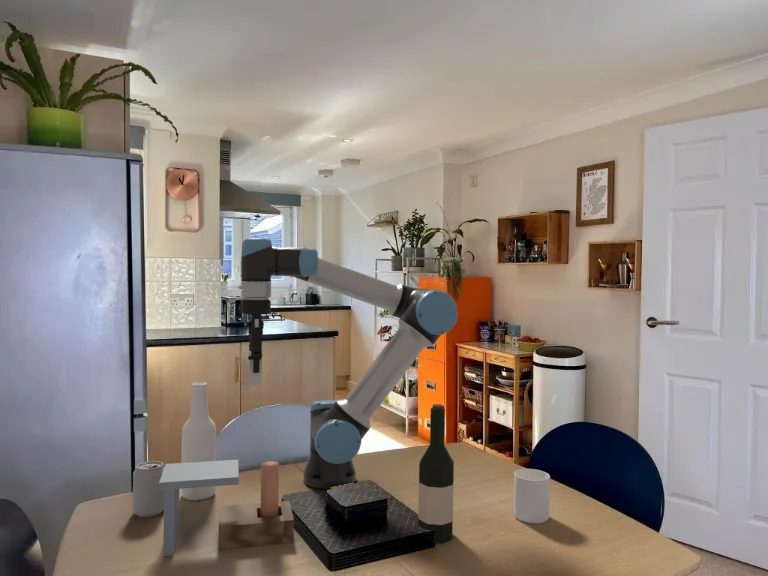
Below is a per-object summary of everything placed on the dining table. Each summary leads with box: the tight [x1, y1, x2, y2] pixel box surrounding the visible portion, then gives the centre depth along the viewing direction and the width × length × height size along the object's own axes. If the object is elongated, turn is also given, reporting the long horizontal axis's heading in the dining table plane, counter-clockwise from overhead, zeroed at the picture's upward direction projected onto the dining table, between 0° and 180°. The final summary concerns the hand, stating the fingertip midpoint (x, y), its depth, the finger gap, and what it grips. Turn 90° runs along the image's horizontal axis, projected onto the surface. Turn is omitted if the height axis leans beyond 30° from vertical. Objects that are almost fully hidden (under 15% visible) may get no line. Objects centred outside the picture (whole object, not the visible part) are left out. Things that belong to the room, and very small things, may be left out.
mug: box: [513, 468, 551, 525], centre depth 143 cm, size 9×12×11 cm
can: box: [132, 460, 165, 519], centre depth 140 cm, size 8×8×12 cm
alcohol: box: [180, 381, 217, 502], centre depth 151 cm, size 9×9×30 cm
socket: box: [217, 500, 295, 551], centre depth 129 cm, size 16×11×5 cm
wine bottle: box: [417, 403, 455, 544], centre depth 130 cm, size 8×8×30 cm
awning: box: [159, 459, 240, 557], centre depth 126 cm, size 16×12×16 cm
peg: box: [260, 460, 280, 518], centre depth 130 cm, size 4×4×16 cm
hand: (254, 380), depth 147 cm, fingers open, 13 cm apart
